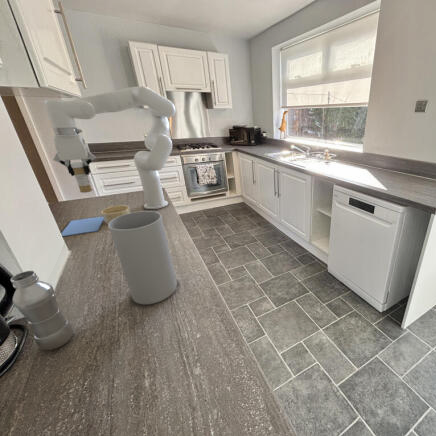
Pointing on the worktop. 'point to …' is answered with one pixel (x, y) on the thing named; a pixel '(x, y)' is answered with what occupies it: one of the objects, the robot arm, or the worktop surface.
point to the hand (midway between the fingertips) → (80, 174)
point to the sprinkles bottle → (81, 177)
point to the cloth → (83, 226)
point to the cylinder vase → (144, 255)
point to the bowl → (114, 212)
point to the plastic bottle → (41, 310)
